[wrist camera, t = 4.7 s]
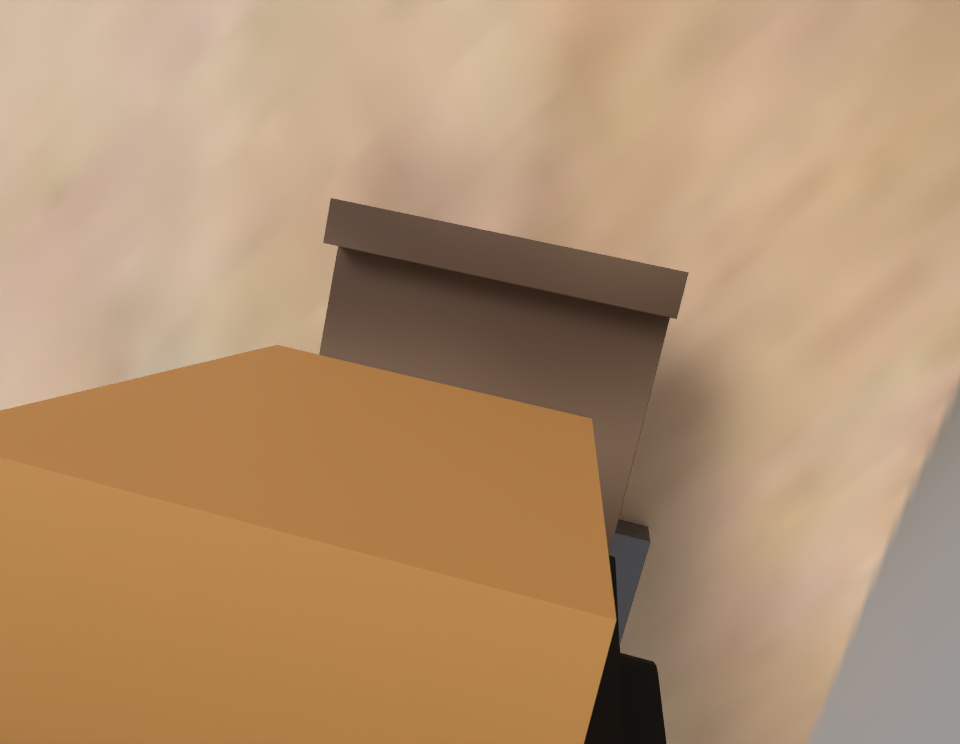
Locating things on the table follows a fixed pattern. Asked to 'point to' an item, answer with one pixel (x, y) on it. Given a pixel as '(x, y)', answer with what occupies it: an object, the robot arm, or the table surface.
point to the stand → (628, 564)
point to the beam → (504, 321)
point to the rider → (299, 561)
